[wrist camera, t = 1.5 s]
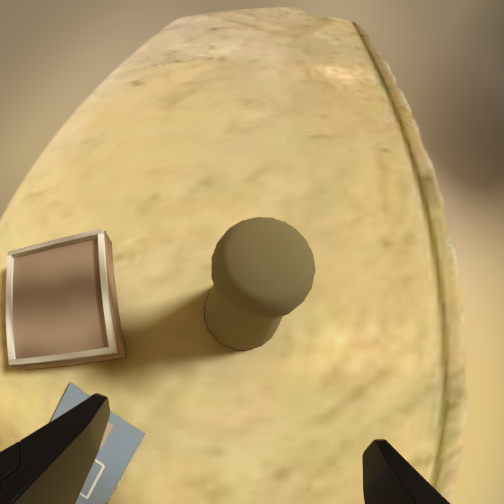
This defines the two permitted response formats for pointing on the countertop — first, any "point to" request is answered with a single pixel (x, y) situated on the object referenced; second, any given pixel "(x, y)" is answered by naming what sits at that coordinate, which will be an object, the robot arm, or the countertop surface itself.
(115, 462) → the blueprint card
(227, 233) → the olive pawn figure
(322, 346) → the countertop surface
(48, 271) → the brown square tray
